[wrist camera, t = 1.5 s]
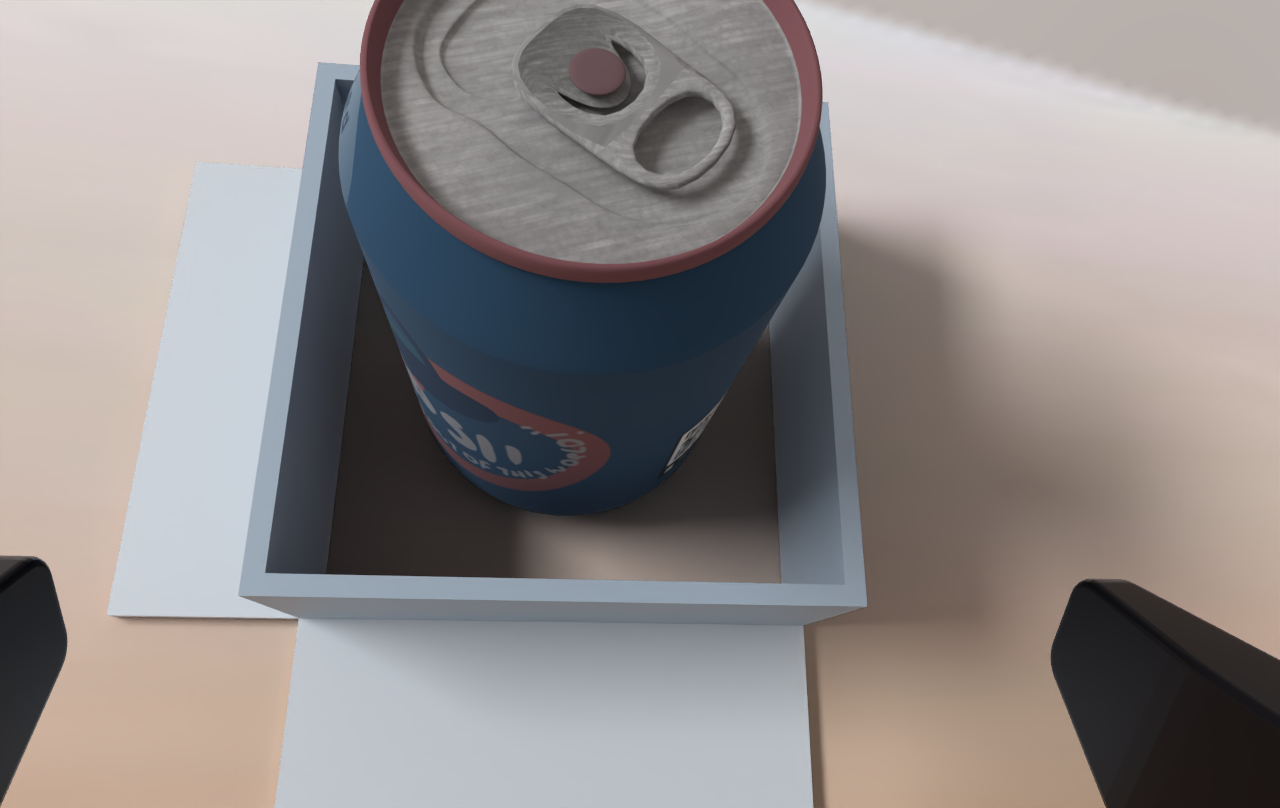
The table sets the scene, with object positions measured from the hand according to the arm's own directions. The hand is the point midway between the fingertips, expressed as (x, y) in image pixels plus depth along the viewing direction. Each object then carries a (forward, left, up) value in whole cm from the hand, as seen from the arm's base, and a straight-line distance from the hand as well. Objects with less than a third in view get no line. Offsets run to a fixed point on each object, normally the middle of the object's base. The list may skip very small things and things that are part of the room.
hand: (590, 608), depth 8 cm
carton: (+5, +2, -13) cm, 14 cm away
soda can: (+7, 0, -13) cm, 15 cm away
